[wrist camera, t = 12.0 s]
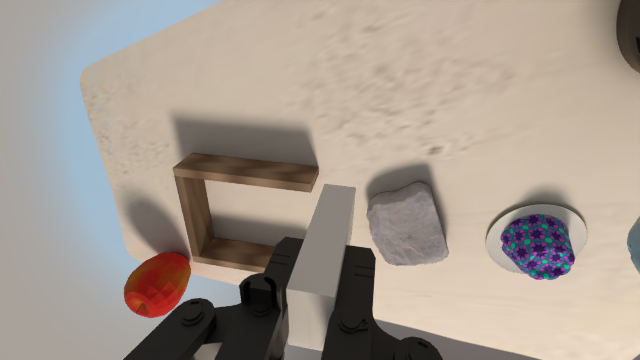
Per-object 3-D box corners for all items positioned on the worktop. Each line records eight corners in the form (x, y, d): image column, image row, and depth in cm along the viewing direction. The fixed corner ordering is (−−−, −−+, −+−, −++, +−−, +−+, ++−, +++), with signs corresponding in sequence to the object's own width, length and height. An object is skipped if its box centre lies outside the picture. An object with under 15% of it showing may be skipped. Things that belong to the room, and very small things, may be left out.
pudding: (470, 257, 48) (478, 284, 43) (508, 190, 42) (523, 214, 37) (553, 279, 47) (570, 309, 42) (604, 214, 41) (631, 241, 36)
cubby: (318, 166, 45) (310, 184, 41) (316, 258, 53) (309, 281, 49) (192, 152, 48) (172, 167, 44) (208, 241, 56) (193, 261, 52)
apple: (182, 234, 57) (135, 286, 47) (211, 271, 60) (174, 327, 50) (146, 247, 60) (96, 298, 50) (176, 281, 64) (134, 336, 53)
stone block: (388, 249, 52) (454, 245, 47) (382, 270, 48) (452, 268, 43) (363, 187, 48) (432, 175, 43) (354, 205, 44) (427, 194, 39)
